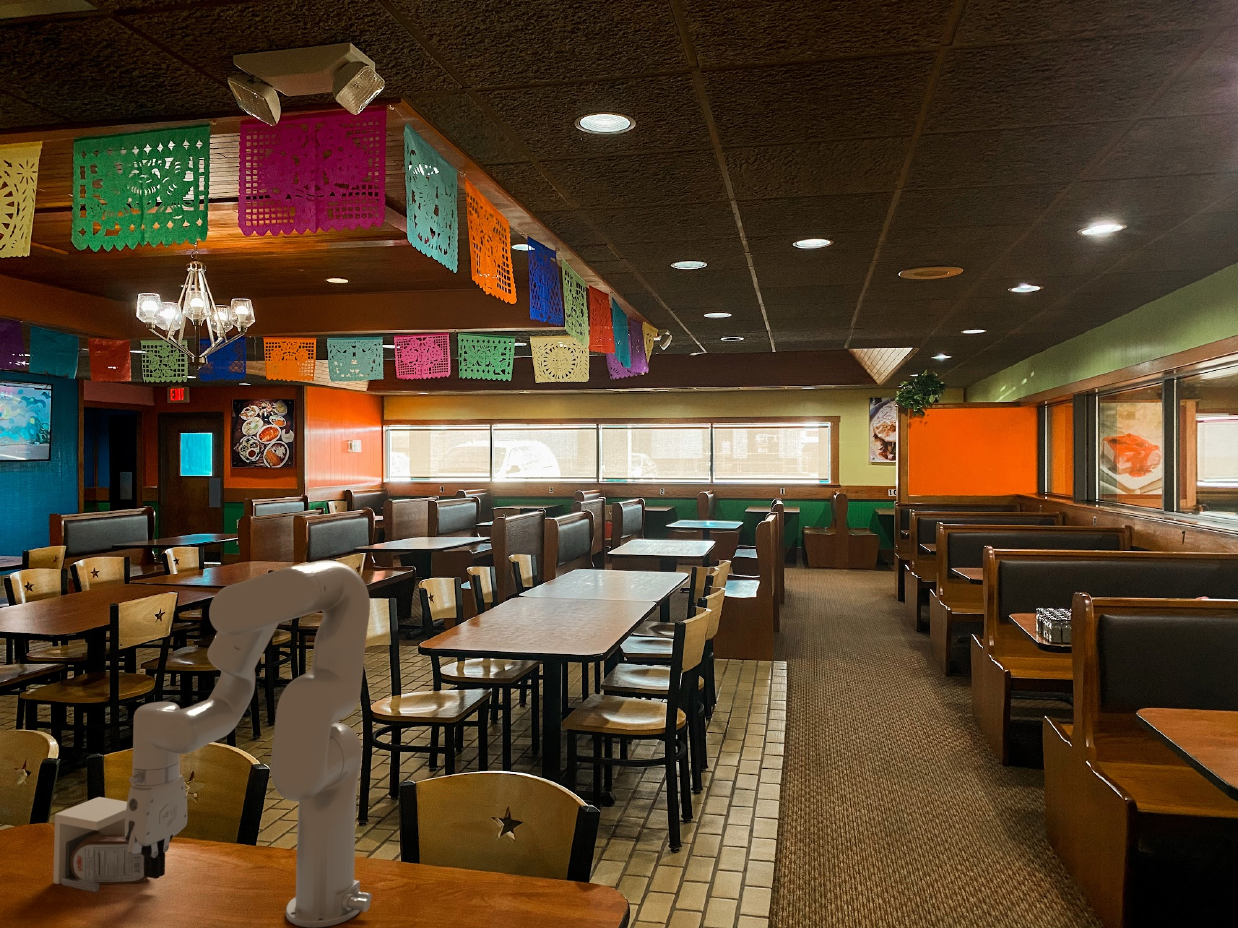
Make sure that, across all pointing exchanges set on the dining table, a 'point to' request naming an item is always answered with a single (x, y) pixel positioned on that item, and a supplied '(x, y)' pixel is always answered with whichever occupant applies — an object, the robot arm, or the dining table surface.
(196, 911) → the dining table surface
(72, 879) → the white u-channel
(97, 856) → the tin
